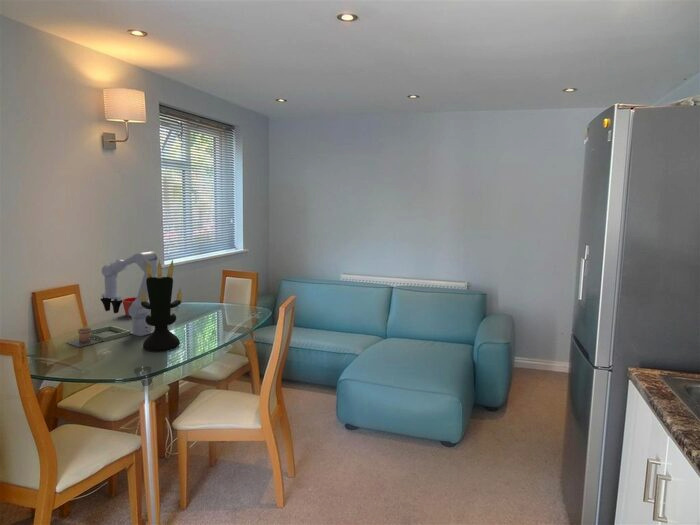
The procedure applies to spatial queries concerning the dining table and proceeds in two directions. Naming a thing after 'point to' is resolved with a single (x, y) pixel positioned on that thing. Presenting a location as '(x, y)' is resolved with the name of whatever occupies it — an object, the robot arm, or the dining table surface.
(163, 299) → the candelabra
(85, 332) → the seedling pot
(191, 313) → the dining table surface
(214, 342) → the dining table surface
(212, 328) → the dining table surface
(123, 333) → the pale green square frame
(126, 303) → the flower pot
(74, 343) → the slate tile
